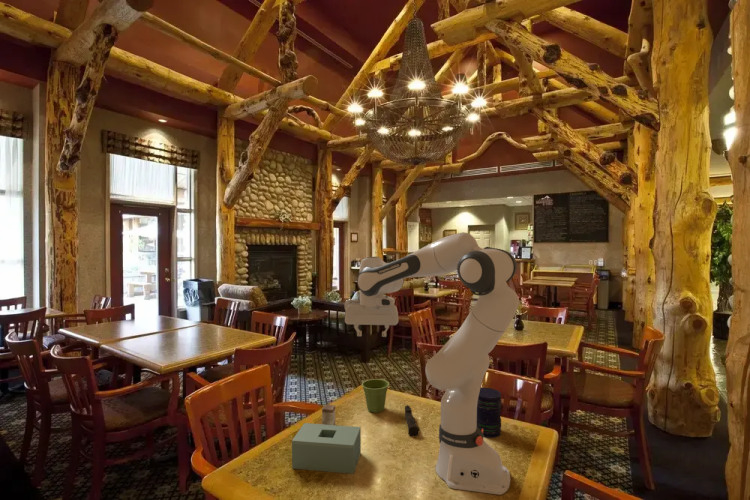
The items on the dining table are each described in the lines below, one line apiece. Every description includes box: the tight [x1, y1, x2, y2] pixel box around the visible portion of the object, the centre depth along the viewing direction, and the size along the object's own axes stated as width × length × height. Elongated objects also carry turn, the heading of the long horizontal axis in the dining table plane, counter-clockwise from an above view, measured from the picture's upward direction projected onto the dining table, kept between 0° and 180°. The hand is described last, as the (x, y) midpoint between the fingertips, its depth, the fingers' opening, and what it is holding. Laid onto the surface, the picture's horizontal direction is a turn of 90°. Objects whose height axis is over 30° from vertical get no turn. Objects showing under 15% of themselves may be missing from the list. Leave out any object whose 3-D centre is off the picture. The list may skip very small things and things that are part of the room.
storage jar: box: [477, 387, 502, 439], centre depth 147 cm, size 10×10×15 cm
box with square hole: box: [291, 422, 362, 475], centre depth 128 cm, size 20×12×9 cm, turn 81°
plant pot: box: [361, 378, 390, 414], centre depth 167 cm, size 12×12×11 cm
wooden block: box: [321, 404, 336, 425], centre depth 146 cm, size 4×4×10 cm
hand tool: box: [404, 404, 420, 437], centre depth 153 cm, size 19×4×5 cm, turn 1°
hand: (371, 336), depth 146 cm, fingers open, 8 cm apart
